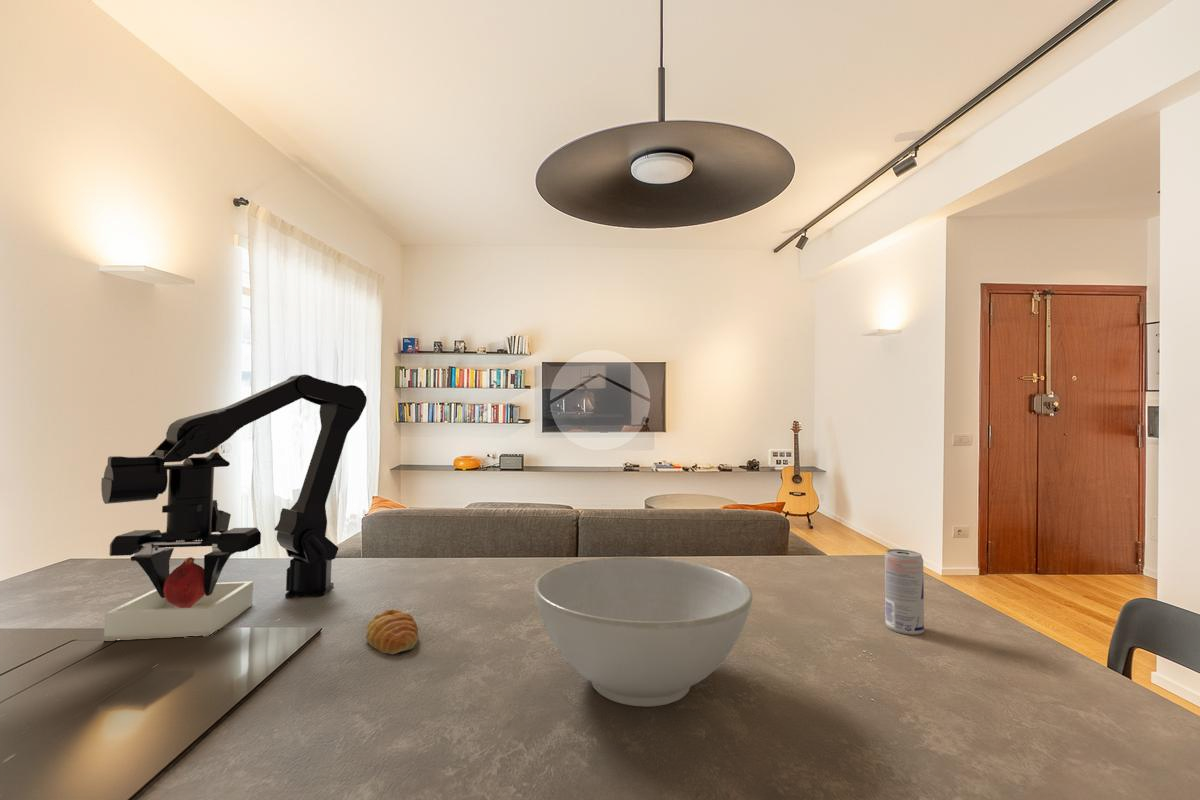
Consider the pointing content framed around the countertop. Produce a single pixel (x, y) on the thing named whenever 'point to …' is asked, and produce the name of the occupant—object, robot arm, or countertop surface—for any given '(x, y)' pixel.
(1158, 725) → the countertop surface
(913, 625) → the energy drink
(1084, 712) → the countertop surface
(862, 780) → the countertop surface
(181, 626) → the bin
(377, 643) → the pastry
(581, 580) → the decorative bowl
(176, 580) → the onion
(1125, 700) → the countertop surface
